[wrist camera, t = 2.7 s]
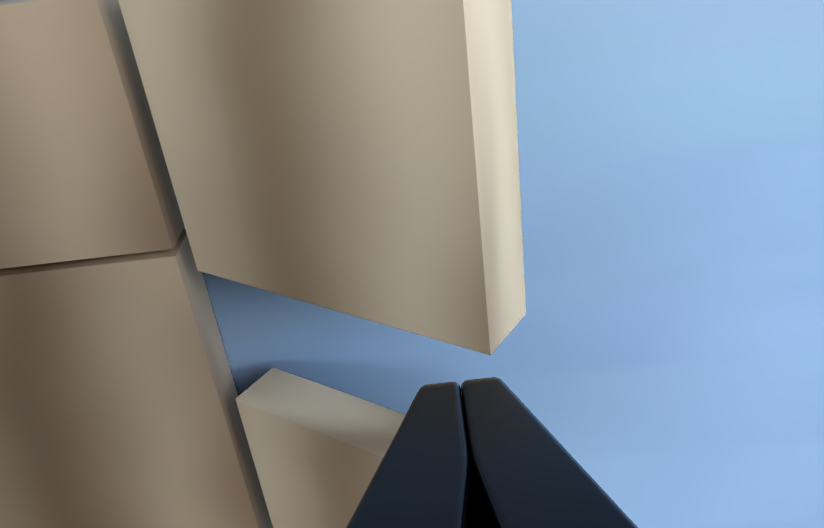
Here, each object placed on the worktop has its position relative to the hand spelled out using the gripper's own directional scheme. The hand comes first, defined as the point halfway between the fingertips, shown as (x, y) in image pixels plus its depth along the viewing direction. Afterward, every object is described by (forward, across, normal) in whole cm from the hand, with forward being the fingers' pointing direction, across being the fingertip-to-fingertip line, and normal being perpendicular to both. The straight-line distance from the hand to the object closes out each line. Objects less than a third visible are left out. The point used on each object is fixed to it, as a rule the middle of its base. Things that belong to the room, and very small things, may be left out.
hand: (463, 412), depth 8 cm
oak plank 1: (+9, +2, 0) cm, 9 cm away
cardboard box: (+11, +11, +5) cm, 17 cm away
